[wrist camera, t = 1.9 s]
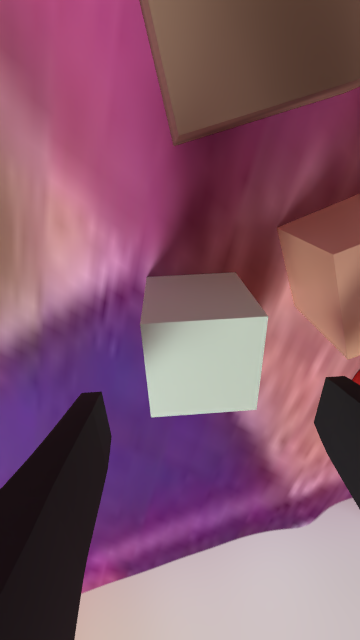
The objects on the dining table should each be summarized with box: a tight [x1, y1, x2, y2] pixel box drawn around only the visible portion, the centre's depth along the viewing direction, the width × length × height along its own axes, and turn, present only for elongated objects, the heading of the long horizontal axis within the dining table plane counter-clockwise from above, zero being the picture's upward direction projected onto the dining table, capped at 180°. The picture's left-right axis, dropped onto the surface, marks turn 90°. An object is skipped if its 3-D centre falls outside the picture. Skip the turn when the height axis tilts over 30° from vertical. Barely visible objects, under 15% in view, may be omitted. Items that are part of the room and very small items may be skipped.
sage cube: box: [140, 272, 268, 417], centre depth 13 cm, size 4×4×5 cm
